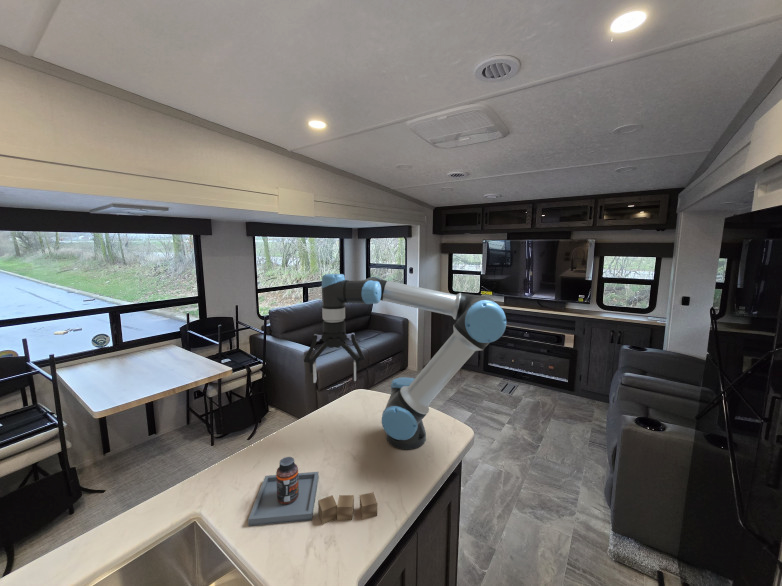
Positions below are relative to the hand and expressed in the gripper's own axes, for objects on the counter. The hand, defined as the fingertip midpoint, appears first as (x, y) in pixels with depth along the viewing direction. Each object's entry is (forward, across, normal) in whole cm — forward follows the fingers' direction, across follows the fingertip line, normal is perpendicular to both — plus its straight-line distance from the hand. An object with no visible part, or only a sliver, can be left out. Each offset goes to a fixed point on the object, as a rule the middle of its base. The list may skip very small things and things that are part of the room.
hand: (335, 380), depth 107 cm
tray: (+27, +13, +20) cm, 36 cm away
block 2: (+27, -4, +27) cm, 38 cm away
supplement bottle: (+26, +13, +20) cm, 35 cm away
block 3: (+27, -10, +27) cm, 39 cm away
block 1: (+27, +1, +27) cm, 38 cm away
